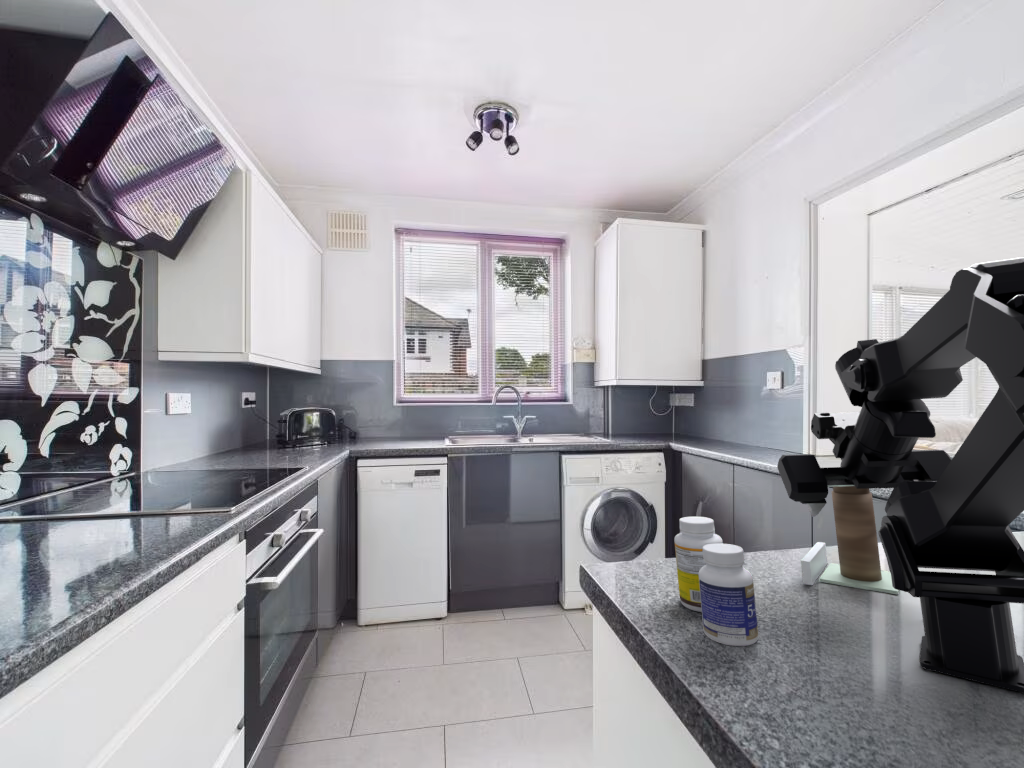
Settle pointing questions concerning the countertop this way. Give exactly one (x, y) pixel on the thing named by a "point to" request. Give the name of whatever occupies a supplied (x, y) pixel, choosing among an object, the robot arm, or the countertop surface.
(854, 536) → the pepper mill
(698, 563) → the supplement bottle
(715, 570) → the pill bottle
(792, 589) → the countertop surface
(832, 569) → the coaster
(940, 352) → the robot arm
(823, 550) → the rail
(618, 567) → the countertop surface
